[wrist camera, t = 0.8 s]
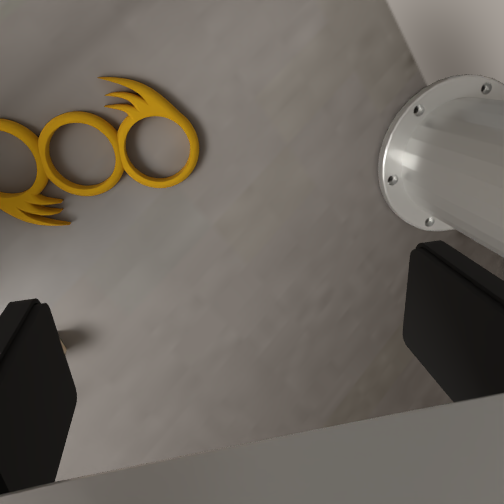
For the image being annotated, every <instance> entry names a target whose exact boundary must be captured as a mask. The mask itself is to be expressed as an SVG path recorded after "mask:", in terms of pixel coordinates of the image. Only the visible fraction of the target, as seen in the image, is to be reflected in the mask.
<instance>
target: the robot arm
mask: <svg viewBox="0 0 504 504" xmlns="http://www.w3.org/2000/svg"><path fill="white" fill-rule="evenodd" d="M414 108H416V109H415V111H414ZM378 176H379V185H380V188H381V191H382V194H383V197H384V199H385V201H386V202H387V204H388V206H389V207H390V208H391V210H392V211H393V212H394V213H395V214H396V215H397V216H398V217H400V218H401V219H403V220H404V221H405V222H407V223H409V224H410V225H412V226H414V227H416V228H419V229H423V230H427V231H446V230H452V229H456V230H458V231H459V232H461V233H463V234H464V235H466V236H468V237H470V238H471V239H473V240H475V241H476V242H478V243H480V244H481V245H483V246H485V247H486V248H488V249H490V250H492V251H493V252H495V253H497V254H498V255H500V256H502V257H503V258H504V84H503V83H501V82H499V81H497V80H495V79H493V78H488V77H485V76H481V75H458V76H451V77H448V78H445V79H442V80H438V81H436V82H435V83H433V84H431V85H429V86H427V87H425V88H423V89H422V90H421V91H420V92H418V93H417V94H416V95H415V96H413V97H412V98H411V99H410V100H409V101H408V102H407V103H406V104H405V105H404V106H403V107H402V109H401V110H400V111H399V112H398V114H397V115H396V117H395V118H394V120H393V121H392V123H391V124H390V126H389V128H388V131H387V133H386V135H385V137H384V140H383V143H382V147H381V150H380V154H379V164H378ZM389 177H390V179H389V180H388V178H389ZM403 339H404V342H405V344H406V345H407V347H408V348H409V349H410V350H411V352H412V353H413V354H414V355H415V356H416V358H417V359H418V360H419V361H420V362H421V364H422V365H423V366H424V367H425V368H426V370H427V371H428V372H429V373H430V374H431V376H432V377H433V378H434V379H435V380H436V382H437V383H438V384H439V385H440V386H441V388H442V389H443V390H444V391H445V392H446V394H447V395H448V396H449V397H450V398H451V400H452V401H453V403H448V404H443V405H437V406H432V407H427V408H422V409H417V410H412V411H407V412H402V413H397V414H392V415H387V416H382V417H377V418H372V419H367V420H362V421H357V422H352V423H347V424H342V425H336V426H331V427H326V428H321V429H316V430H311V431H306V432H301V433H296V434H291V435H286V436H281V437H276V438H271V439H266V440H261V441H256V442H251V443H246V444H241V445H235V446H230V447H225V448H220V449H215V450H210V451H205V452H200V453H195V454H190V455H185V456H180V457H175V458H170V459H165V460H161V461H156V462H151V463H146V464H141V465H136V466H131V467H126V468H121V469H116V470H111V471H107V472H102V473H97V474H92V475H87V476H82V477H77V478H72V479H67V480H62V481H58V482H55V478H56V475H57V471H58V468H59V464H60V460H61V457H62V453H63V450H64V446H65V442H66V439H67V435H68V432H69V428H70V424H71V421H72V417H73V414H74V410H75V406H76V402H77V393H76V388H75V385H74V382H73V378H72V375H71V372H70V369H69V366H68V363H67V360H66V357H65V354H64V351H63V348H62V344H61V341H60V338H59V335H58V332H57V329H56V326H55V323H54V320H53V317H52V314H51V310H50V308H49V306H48V304H46V303H42V304H41V303H40V301H39V300H38V299H29V300H22V301H15V302H10V303H9V304H8V305H7V307H6V308H5V310H4V311H3V313H2V314H1V315H0V504H504V281H503V280H501V279H500V278H498V277H497V276H495V275H494V274H492V273H491V272H489V271H488V270H486V269H485V268H483V267H481V266H480V265H478V264H477V263H475V262H474V261H472V260H471V259H469V258H468V257H466V256H465V255H463V254H462V253H460V252H459V251H457V250H456V249H454V248H452V247H451V246H449V245H448V244H446V243H445V242H443V241H441V240H440V241H432V242H426V243H419V244H418V245H417V247H416V249H414V250H412V252H411V254H410V262H409V272H408V282H407V292H406V303H405V313H404V323H403Z"/></svg>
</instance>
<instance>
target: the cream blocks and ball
mask: <svg viewBox="0 0 504 504" xmlns="http://www.w3.org/2000/svg"><path fill="white" fill-rule="evenodd" d="M60 341H61V339H60ZM61 344H62V348H63V351H64V354H65V353H66V350H67V349H66V348H65V346H64V344H63V343H62V341H61Z"/></svg>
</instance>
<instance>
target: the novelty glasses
mask: <svg viewBox="0 0 504 504" xmlns="http://www.w3.org/2000/svg"><path fill="white" fill-rule="evenodd" d="M97 78H100V79H104V80H108V81H111V82H114V83H118V84H121V85H123V86H126V87H128V88H130V89H132V90H134V91H135V92H137V93H138V94H139V95H141V96H142V97H141V96H138V95H136V94H133V93H129V92H112V93H109V94H106V95H105V96H114V97H120V98H123V99H126V100H128V101H130V102H131V103H132V104H133V105H134V106H133V105H129V104H113V105H105V106H104V107H108V108H113V109H118V110H122V111H124V112H126V113H127V114H128V116H127V117H126V118H125V119H124V121H123V122H122V123H121V125H120V127H119V129H118V132H117V131H116V130H115V128H114V127H113V126H112V125H111V124H109V123H108V122H107V121H106V120H104V119H103V118H101V117H99V116H97V115H94V114H91V113H88V112H82V111H73V112H67V113H64V114H61V115H59V116H57V117H55V118H53V119H52V120H51V121H49V122H48V123H47V124H46V125H45V127H44V128H43V130H42V131H41V133H40V136H39V138H38V137H37V136H36V135H35V134H34V133H33V132H32V131H30V130H29V129H28V128H26V127H25V126H23V125H21V124H19V123H17V122H14V121H11V120H7V119H0V131H4V132H7V133H10V134H12V135H14V136H16V137H17V138H19V139H20V140H22V141H23V142H24V143H25V144H26V145H27V146H28V148H29V149H30V150H31V152H32V153H33V155H34V158H35V160H36V164H37V176H36V180H35V182H34V184H33V185H32V187H31V188H30V189H28V190H26V191H24V192H20V193H3V192H0V209H1V210H3V211H4V212H6V213H8V214H10V215H11V216H13V217H16V218H18V219H20V220H23V221H25V222H29V223H33V224H38V225H48V226H60V225H70V224H71V222H67V221H61V220H55V219H51V218H47V217H43V216H40V215H53V214H58V213H60V212H61V211H62V210H63V209H59V208H49V207H45V206H42V205H50V204H58V203H62V201H63V199H57V198H51V197H46V196H43V195H42V194H40V192H41V191H42V190H43V189H44V188H45V186H46V185H47V183H48V180H49V179H50V180H51V181H52V182H53V183H54V184H55V185H56V186H58V187H59V188H61V189H62V190H64V191H66V192H68V193H71V194H75V195H80V196H94V195H98V194H101V193H104V192H106V191H108V190H109V189H111V188H112V187H113V186H115V185H116V184H117V182H118V181H119V180H120V178H121V176H122V174H123V172H124V170H125V171H126V173H127V174H128V175H129V176H130V177H132V178H133V179H134V180H136V181H137V182H139V183H141V184H143V185H146V186H149V187H154V188H166V187H171V186H174V185H177V184H179V183H180V182H182V181H183V180H185V179H186V178H187V177H188V176H189V175H190V174H191V172H192V171H193V170H194V168H195V166H196V163H197V161H198V157H199V141H198V137H197V134H196V132H195V129H194V128H193V126H192V124H191V123H190V122H189V120H188V119H187V118H186V117H185V116H184V115H183V114H181V113H180V112H179V111H178V110H177V109H176V108H175V107H174V106H173V105H172V104H171V103H170V102H169V101H168V100H166V99H165V98H164V97H163V96H162V95H160V94H159V93H158V92H156V91H155V90H153V89H152V88H150V87H148V86H146V85H145V84H142V83H140V82H137V81H134V80H130V79H125V78H117V77H97ZM150 116H161V117H165V118H168V119H171V120H172V121H174V122H176V123H177V124H178V125H179V126H180V127H181V128H182V129H183V130H184V132H185V133H186V135H187V137H188V139H189V142H190V155H189V158H188V161H187V163H186V165H185V166H184V167H183V168H182V169H181V170H180V171H179V172H178V173H176V174H175V175H173V176H170V177H167V178H153V177H149V176H147V175H145V174H143V173H141V172H140V171H138V170H137V169H136V168H135V167H134V166H133V164H132V163H131V162H130V160H129V158H128V155H127V151H126V137H127V134H128V132H129V129H130V128H131V127H132V126H133V125H134V124H135V123H136V122H137V121H139V120H141V119H143V118H146V117H150ZM68 123H84V124H88V125H91V126H93V127H95V128H96V129H98V130H99V131H101V132H102V133H103V134H104V135H105V136H106V137H107V138H108V139H109V141H110V142H111V144H112V146H113V149H114V152H115V157H116V163H115V169H114V171H113V173H112V175H111V176H110V177H109V178H108V179H107V180H105V181H103V182H102V183H99V184H96V185H91V186H84V185H79V184H75V183H73V182H71V181H69V180H67V179H66V178H64V177H63V176H62V175H61V174H60V173H59V172H58V171H57V170H56V169H55V167H54V165H53V163H52V161H51V158H50V154H49V145H50V140H51V138H52V136H53V134H54V132H55V131H56V130H57V129H58V128H59V127H60V126H62V125H64V124H68Z"/></svg>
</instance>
